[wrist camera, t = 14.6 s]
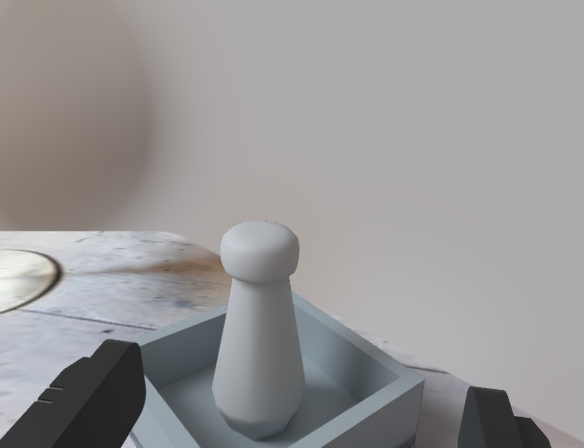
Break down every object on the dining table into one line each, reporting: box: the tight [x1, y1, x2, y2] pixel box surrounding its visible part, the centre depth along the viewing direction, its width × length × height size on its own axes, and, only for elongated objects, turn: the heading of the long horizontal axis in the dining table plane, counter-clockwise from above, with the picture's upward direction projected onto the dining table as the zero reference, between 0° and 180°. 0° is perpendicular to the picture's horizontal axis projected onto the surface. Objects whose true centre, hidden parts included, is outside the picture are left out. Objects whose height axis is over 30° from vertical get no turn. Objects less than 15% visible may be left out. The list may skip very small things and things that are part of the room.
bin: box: [128, 291, 425, 448], centre depth 31 cm, size 14×14×5 cm
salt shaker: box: [212, 221, 306, 441], centre depth 29 cm, size 6×6×13 cm
